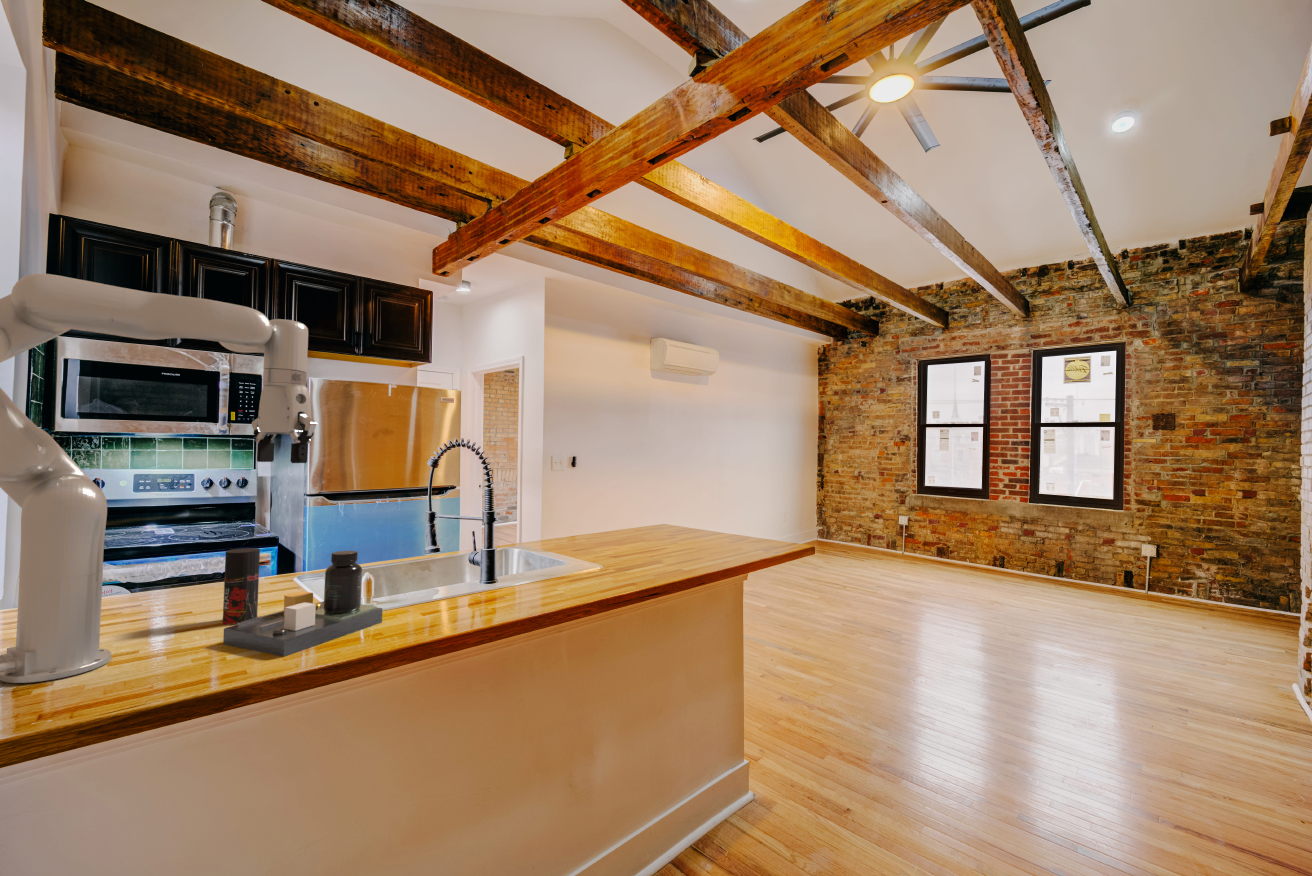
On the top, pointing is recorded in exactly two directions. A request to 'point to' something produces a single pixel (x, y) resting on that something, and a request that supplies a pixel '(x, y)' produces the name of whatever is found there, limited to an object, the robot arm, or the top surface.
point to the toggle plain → (299, 616)
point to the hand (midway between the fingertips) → (281, 462)
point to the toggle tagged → (297, 599)
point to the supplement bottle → (343, 583)
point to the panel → (282, 642)
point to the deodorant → (241, 585)
